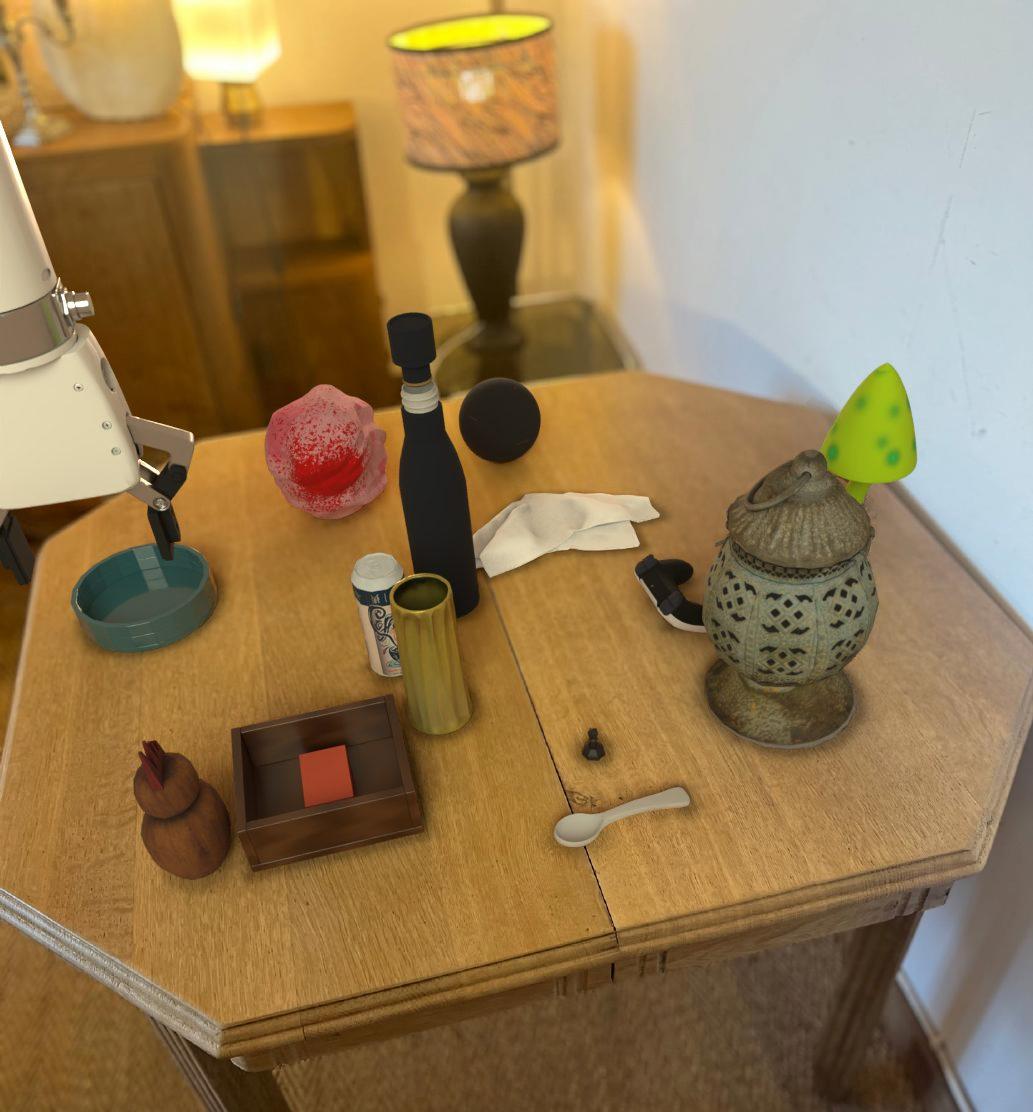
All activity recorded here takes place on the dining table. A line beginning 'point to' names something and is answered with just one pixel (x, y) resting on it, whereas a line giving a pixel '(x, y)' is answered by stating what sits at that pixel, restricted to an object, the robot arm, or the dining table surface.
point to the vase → (430, 654)
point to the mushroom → (873, 434)
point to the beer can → (378, 609)
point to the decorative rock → (327, 453)
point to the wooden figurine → (180, 814)
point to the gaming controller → (670, 591)
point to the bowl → (144, 598)
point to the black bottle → (431, 468)
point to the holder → (277, 792)
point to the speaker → (499, 420)
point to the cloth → (558, 527)
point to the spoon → (614, 817)
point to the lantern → (789, 607)
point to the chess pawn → (593, 746)
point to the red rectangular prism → (326, 776)
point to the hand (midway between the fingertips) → (99, 561)
